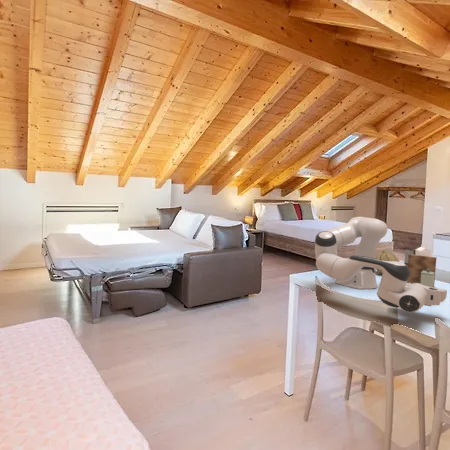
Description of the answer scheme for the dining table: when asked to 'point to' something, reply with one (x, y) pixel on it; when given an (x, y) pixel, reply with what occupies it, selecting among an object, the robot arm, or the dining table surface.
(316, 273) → the dining table surface
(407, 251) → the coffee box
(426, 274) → the olive rectangular canister
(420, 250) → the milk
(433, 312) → the dining table surface
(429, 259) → the brown tall block
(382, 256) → the cantaloupe
